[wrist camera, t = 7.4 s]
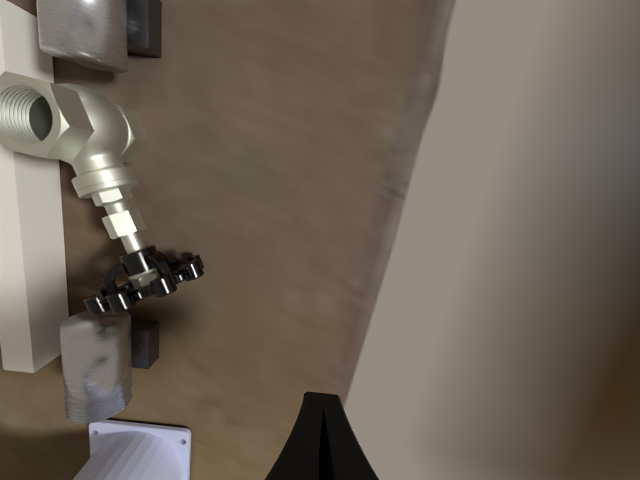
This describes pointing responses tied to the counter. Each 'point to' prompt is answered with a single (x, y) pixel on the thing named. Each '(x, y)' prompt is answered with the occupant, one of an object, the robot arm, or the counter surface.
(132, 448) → the robot arm
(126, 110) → the valve
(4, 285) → the bar
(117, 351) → the pipe stubs
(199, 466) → the counter surface
